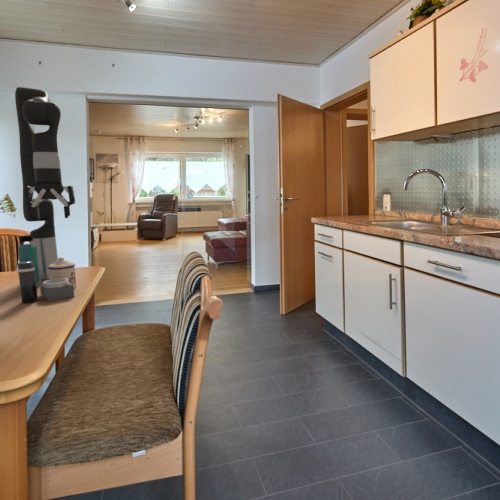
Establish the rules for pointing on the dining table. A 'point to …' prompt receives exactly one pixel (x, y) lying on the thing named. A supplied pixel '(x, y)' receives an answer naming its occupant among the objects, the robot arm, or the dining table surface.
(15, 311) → the dining table surface
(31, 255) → the beverage bottle
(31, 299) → the lens
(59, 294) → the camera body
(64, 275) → the teacup with lid
